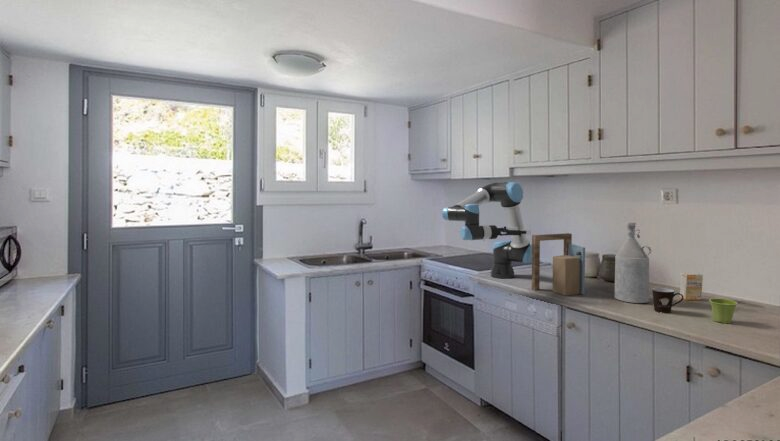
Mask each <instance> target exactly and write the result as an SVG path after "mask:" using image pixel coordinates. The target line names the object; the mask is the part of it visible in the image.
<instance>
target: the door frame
mask: <svg viewBox="0 0 780 441" xmlns="http://www.w3.org/2000/svg"><path fill="white" fill-rule="evenodd" d="M572 237H573V234H572V233H568V232H566V233H550V234H549V233H547V234H545V233H544V234H531V245H532V261H531V290H533V291H540V288H541V287H540V285H541V284H540V276H541V275H540V272H541V271H540V269H541V268H540V267H541V265H540V264H541V261H540V260H541V257H540V256H541V254H540V252H541V251H540V250H541V241H560V240H562V241H563V255H568V244H573V242H572V240H573V239H572Z"/></svg>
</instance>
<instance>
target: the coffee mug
mask: <svg viewBox="0 0 780 441" xmlns="http://www.w3.org/2000/svg"><path fill="white" fill-rule="evenodd" d="M651 291H652V302H653V310H655V311H654V312H657V313H660V312H662V313H661V314H670V312H671V313H672V307H673V306H675V305H677V304H680V303H681V302H682V301H683V300H684V299H683V295H682V294H680V292H679V293H678V292H676V293H675V290H674V289H672V288H665V287H653V288H652V290H651ZM677 295H679V296H680V295H681V296H682V299H681V298H680V300H678V301H677V302H675V303H673V302H674V297H675V296H677Z"/></svg>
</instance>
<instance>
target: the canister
mask: <svg viewBox="0 0 780 441" xmlns="http://www.w3.org/2000/svg"><path fill="white" fill-rule="evenodd" d="M636 223H637V222H629V221H627V222H626V227H627V239H626V240H625V242H624V243H623V244H622V246H621V247H620V248H619V250H618V251H617V252H616V255H615V257H614V258H615V260H614V261H615V264H614V299H616V300H619V301H621V302H626V303H634V304H645V303H649V302H650V258H649V255H650V254H652V252H651V251H652V249H651V247H650V246H647V245H644V246H641V245H640V243H639V242H638V240H637V239H636V237H635V235H636V236H637V238H638V239H640V238H641V236H640V229H637V230H636V228H637V227H636V225H637V224H636ZM637 231H638V232H637ZM635 232H637V233H638V234H637V233H635ZM644 248H647V249H648V250H649V252H648V254H646V252H645V250H644Z"/></svg>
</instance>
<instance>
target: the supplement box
mask: <svg viewBox="0 0 780 441" xmlns="http://www.w3.org/2000/svg"><path fill="white" fill-rule="evenodd" d="M679 293H680V294H682V295H683V300H684V301H702V300H703V299H702V296H703V274H701V273H697V272H693V273H692V272H684V273H683V272H680V284H679ZM679 298H680V300H681V299H682V296H681V295H679Z"/></svg>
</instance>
